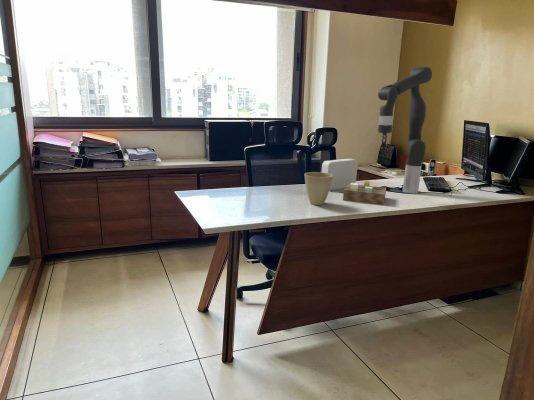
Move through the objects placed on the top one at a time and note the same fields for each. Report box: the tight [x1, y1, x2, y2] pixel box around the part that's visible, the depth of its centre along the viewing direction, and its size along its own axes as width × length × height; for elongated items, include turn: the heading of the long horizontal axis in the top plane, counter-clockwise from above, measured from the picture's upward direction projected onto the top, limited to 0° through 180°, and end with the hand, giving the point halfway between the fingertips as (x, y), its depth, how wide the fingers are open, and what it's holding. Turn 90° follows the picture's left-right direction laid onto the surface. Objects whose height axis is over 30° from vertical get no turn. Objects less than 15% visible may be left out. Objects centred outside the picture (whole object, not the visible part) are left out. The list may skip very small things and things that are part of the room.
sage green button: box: [364, 186, 374, 192], centre depth 212 cm, size 4×4×5 cm
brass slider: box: [363, 180, 371, 187], centre depth 220 cm, size 3×3×4 cm
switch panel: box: [342, 184, 387, 206], centre depth 217 cm, size 22×18×6 cm
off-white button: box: [350, 182, 359, 190], centre depth 214 cm, size 4×4×5 cm
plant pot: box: [304, 171, 333, 206], centre depth 202 cm, size 15×15×16 cm
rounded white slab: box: [321, 158, 358, 192], centre depth 243 cm, size 29×8×18 cm, turn 129°
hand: (383, 154), depth 217 cm, fingers closed
